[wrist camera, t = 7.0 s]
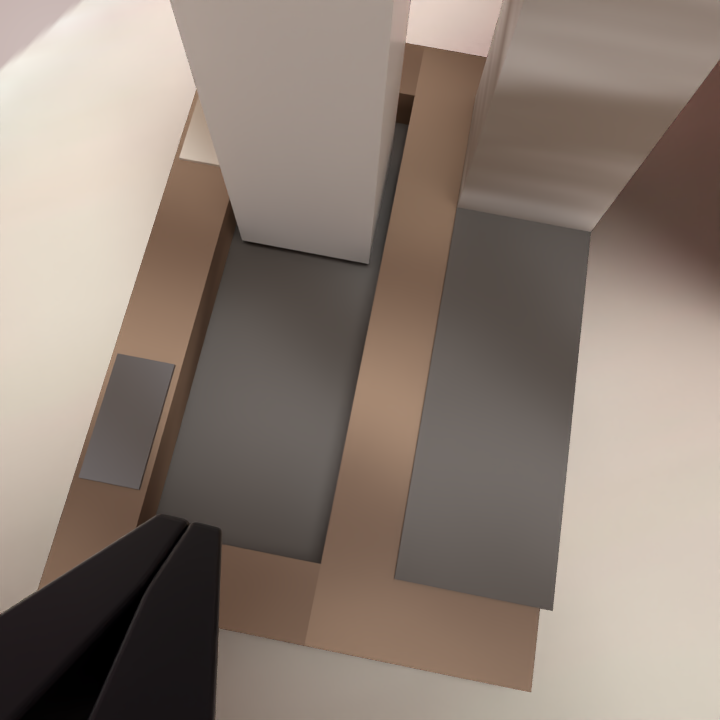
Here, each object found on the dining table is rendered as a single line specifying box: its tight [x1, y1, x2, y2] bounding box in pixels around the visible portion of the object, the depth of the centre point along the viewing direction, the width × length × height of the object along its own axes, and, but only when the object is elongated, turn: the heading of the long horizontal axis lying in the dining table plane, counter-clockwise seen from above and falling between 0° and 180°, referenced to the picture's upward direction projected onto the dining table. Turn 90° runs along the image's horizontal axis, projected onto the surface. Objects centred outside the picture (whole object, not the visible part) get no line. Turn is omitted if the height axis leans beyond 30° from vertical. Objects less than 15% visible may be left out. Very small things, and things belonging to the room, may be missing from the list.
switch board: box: [38, 0, 720, 692], centre depth 12 cm, size 16×11×12 cm
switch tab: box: [170, 0, 411, 264], centre depth 13 cm, size 4×4×12 cm
